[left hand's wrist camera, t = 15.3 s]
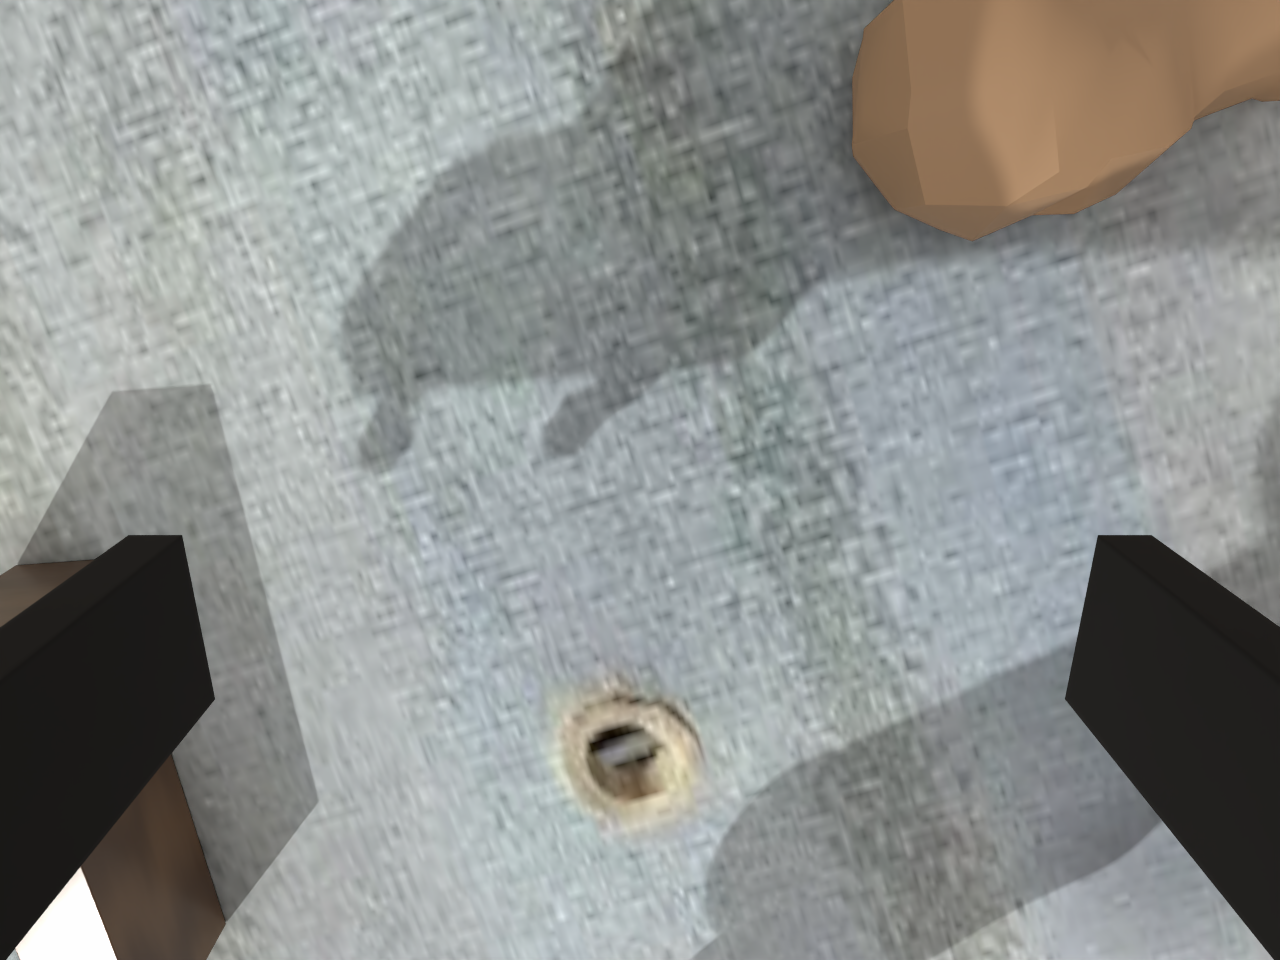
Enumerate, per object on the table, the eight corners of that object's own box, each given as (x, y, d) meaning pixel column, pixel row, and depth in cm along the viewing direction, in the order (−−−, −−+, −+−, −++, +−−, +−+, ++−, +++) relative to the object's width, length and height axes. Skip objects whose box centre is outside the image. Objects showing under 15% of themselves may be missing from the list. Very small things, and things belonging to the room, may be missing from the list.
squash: (790, 26, 36) (860, -79, 28) (1226, -91, 37) (1432, -230, 28) (847, 277, 38) (931, 253, 29) (1263, 160, 39) (1467, 103, 30)
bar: (15, 564, 45) (-118, 649, 37) (108, 558, 45) (-6, 641, 37) (148, 928, 54) (63, 1059, 46) (226, 923, 54) (154, 1054, 46)
